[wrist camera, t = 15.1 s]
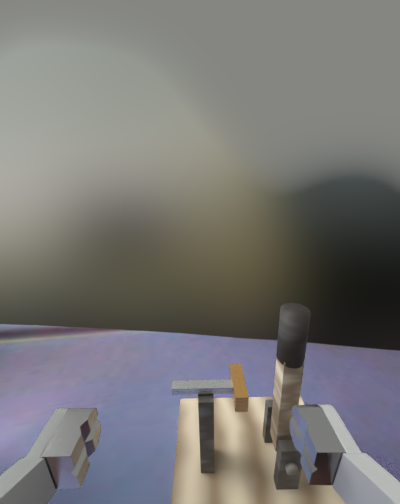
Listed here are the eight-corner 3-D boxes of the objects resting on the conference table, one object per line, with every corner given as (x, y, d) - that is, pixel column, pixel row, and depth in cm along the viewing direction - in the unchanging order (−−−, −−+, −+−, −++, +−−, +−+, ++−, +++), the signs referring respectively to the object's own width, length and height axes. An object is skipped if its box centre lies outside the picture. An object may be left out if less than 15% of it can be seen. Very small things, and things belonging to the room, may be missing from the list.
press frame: (166, 583, 24) (153, 497, 19) (181, 406, 43) (176, 340, 38) (380, 580, 24) (422, 492, 19) (299, 403, 43) (309, 337, 38)
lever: (273, 454, 30) (286, 318, 23) (266, 429, 33) (276, 303, 26) (296, 454, 30) (316, 317, 23) (287, 429, 33) (302, 302, 26)
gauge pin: (170, 413, 26) (169, 399, 25) (174, 378, 31) (173, 365, 30) (247, 411, 26) (248, 397, 25) (240, 376, 31) (240, 363, 30)
